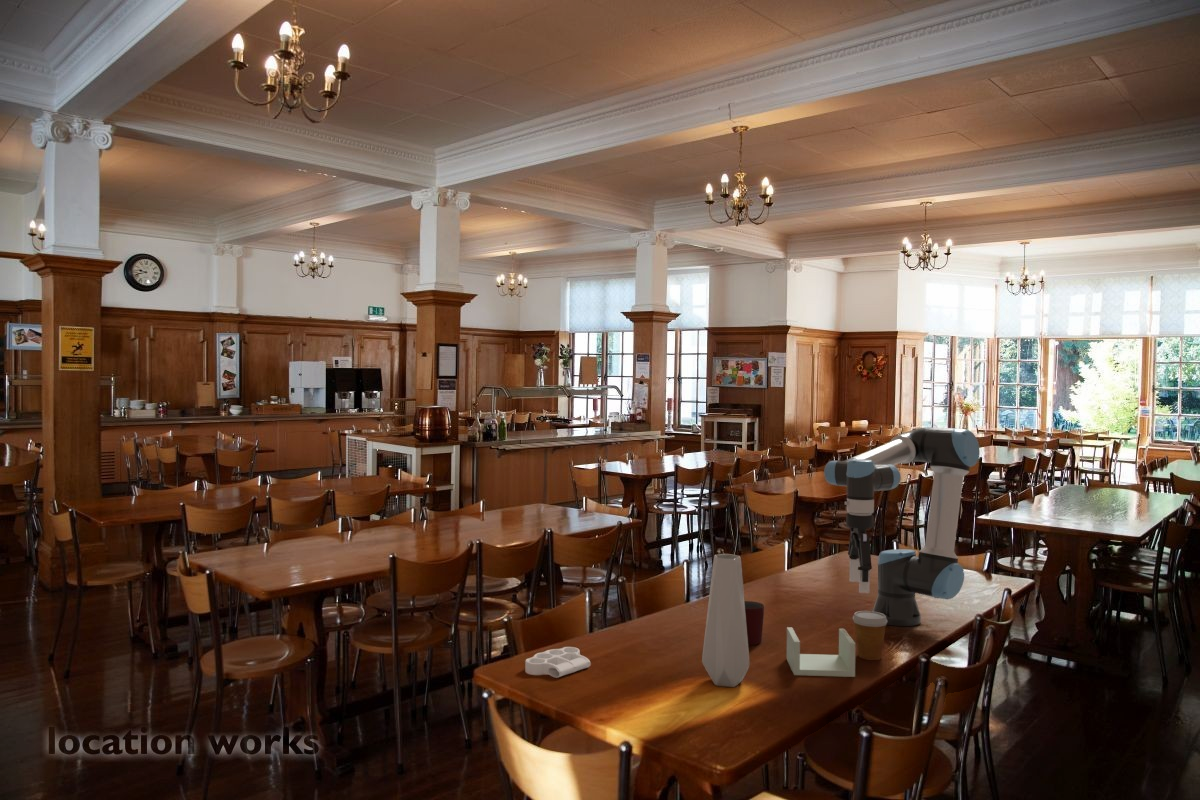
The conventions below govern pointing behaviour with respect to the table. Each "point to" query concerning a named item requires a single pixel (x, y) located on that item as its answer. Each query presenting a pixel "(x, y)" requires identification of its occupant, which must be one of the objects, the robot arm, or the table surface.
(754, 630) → the mug
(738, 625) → the vase
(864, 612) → the disposable coffee cup
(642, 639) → the table surface
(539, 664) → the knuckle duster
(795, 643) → the holder
